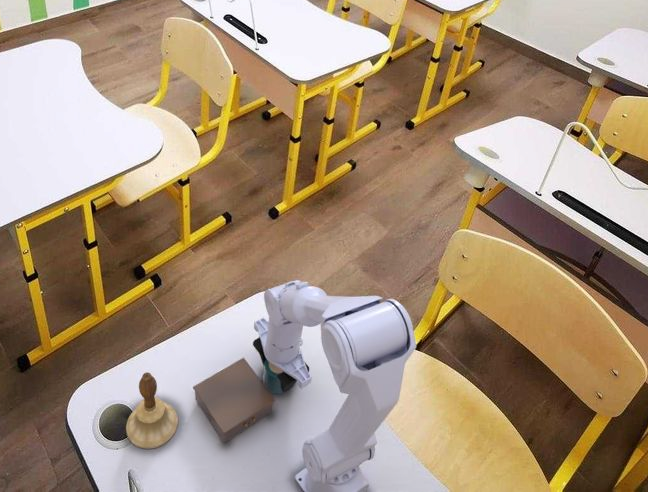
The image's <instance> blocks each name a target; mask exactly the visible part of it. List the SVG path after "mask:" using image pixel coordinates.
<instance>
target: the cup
mask: <svg viewBox="0 0 648 492" xmlns="http://www.w3.org/2000/svg"><path fill="white" fill-rule="evenodd" d="M282 372H284V371H282V370H281V369H279V368H277V367H276V366H274V365H273V364H271V363H270V362H269V361H268V360H267V359H266V360H265V364H264V366H263V373H262V383H263V384H264V386H265V387H266V388H267V390H268V391H269V392H270V393H273V394H283V393H284V392H283V391H282V389H281V381H280V380H279V379H278V377H277V375H279V374H280V373H282Z"/></svg>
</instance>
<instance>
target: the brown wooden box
mask: <svg viewBox="0 0 648 492" xmlns="http://www.w3.org/2000/svg"><path fill="white" fill-rule="evenodd" d="M192 389H193V390H194V399H195V401H196V403H197V404H198V406H199V407H200V408H201V410H202V412H203V413H204V415H205V416H206V418H207V419H208V421H209V423H210V424H211V425H212V427H213V428H214V430H215V431H216V433H217V435H218V436H219V438H220V439H221V441H222V442H223V444H225V443H226V442H228V441H230V440H231V439H233V438H234V437H236V436H237V435H239V434H240V433H242V432H243V431H245V430H246V429H247V428H250V427H251V426H252V425H254V424H255V423H257V422H259V421H260V420H261V419H263V418H265V417H266V416H267V415H269V414H271V413H272V412H273V408H274V403H275V402H276V398H274V396H273V395H272V394H271V392H270V391H268V390H267V388H266V387H265V386H264V384H263V380H261V378H260V377H259V376H258V375H257V373H256V372H255V370H254V369H253V368H252V367H251V365H250V364H249V363H248V361H247V360H246V358H245V357H242V358H240V359H239V360H236V361H235V362H233V363H232V364H230V365H229V366H226V367H224V368H223V369H222V370H220V371H218V372H215V374H212V375H211V376H209V377H207V378H205V379H204V380H202V381H200V382H199V383H197V384H196V385H194V386H193V387H192Z"/></svg>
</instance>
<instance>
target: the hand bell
mask: <svg viewBox="0 0 648 492" xmlns="http://www.w3.org/2000/svg"><path fill="white" fill-rule="evenodd" d="M157 389H158V384H157V380H156V378H155V377H154V376H153V375H152V373H150V372H148V371H147V372H144V373H143V374H142V376H141V378H140V380H139V382H138V391H139V394H140V395H141V397H142V398H143V400H141V401H140V402H139V403H138V404H137V406H136V408H134V410H133V411H132V412H131V413H130V415H129V416H128V418H127V421H126V425H125V433H126V436H127V438H128V440H129V442H131V443H132V444H133V445H134V446H136V447H138V448H140V449H145V450H146V449H147V450H150V449H155V448H159V447H161V446H163V445H165V444H166V443H168V442H169V441H170V440H171V439H172V438H173V437H174V435H175V434H176V433H177V430H178V426H179V417H178V413H177V411H176V409H175V408H174V407H173V406H172V405H170V404H169V403H167V402H165V401H163V400H162V399H160V398H158V397H155V395H156V393H157Z"/></svg>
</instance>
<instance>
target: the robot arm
mask: <svg viewBox="0 0 648 492" xmlns="http://www.w3.org/2000/svg"><path fill="white" fill-rule="evenodd" d="M383 299H384V298H383V297H381V296H379V295H362V296H361V295H360V296H343V295H341V296H340V295H327V293H326V292H325V290H323V289H322V288H320V287H318V286H313V285H309V282H308V281H301V280H300V279H295V280H291V281H288V282H285V283H283V284H280V285H277V286H273V287H270V288H267V289H266V290H265V291H264V293H263V301H264V305H265V309H266V313H267V315H268V320H267V319H266V318H265V317H264V316H263V317H261V318H259V319H257V320H255V321H254V322H253V329H254V331H255V332H257V333H258V337H257V338H256V339H254V340H253V342H252V346H253V347H254V349H255V351H256V352H257V353H258V354H259V358H260V360H261V364H262V365H263V367H264V364H265V360H266V359H267V360H268V361H269V362H270V363H271V364H273V365H274V366H276V367H277V368H279V369H281V370H282V371H284V372H282V373H280V374H279V375H277V377H278V379H279V380H280V381H281V389H282V391H283V393H286V392H288V391H289V390H291V389H293V387H294V386H295V384H296V383H297V382H298V384H297V385H298V388H300V389H301V390H302V389H303V388H305V387H307V386H308V385H310V384H311V382H312V378H313V376H311V374H310V366H309V364H307V362H306V361H305V359H304V356H303V352H302V350H301V346H303V345H304V340H303V339H302V335H303V328H304V327H309V328H311V327H317V326H319V325H320V340H321V347H322V348H323V353H324V354H325V357H326V359H327V362H328V365H329V367H330V370H331V373H332V377H333V379H334V382H335V384H336V386H337V387H338V390H339V392H340V393H341V394H345V395H347V397H346V398H345V400H344V402H343V403H342V405H341V407H340V409H339V410H338V412H337V414H336V416H335V418H334V419H333V421H332V422H331V424H330V426H329V428H328V429H326V430H325V431H323V432H322V433H320V434H319V435H317V436H316V437H314V438H312V439H311V440H306V441H304V442H303V445H302V448H301V455H302V459H303V463H304V466H305V467H304V468H302V470H301V471H299V472H297V473H296V474H295V476H294V479H295V481H296V482H297V484H298V485H299V487H300V488H301V489H302V491H303V492H367V491H368V489H369V487H370V484H369V482H368V481H367V479H366V478H365V476H364V474H363V472H362V470H361V467H360V466H361V465H362V464H363V463H365V462H367V461H371V460H373V459H374V457H375V453H376V452H375V451H376V446H377V444H378V441H377V437H376V434H375V433H376V432H377V430H378V429H379V428H380V426H381V425H382V424H383V423H384V421H385V420H386V419H387V417H388V416H389V415H390V413H391V412H392V411H393V409H394V408H395V407H396V405H397V404H398V402H399V400H400V396H401V390H402V386H403V385H402V384H403V378H404V373H405V366H406V363H407V361H408V360H409V358H410V357H411V356H412V354H413V353H414V352H415V350H416V349H417V342H416V336H415V331H414V326H413V321H412V319H411V316H410V314H409V313H408V311H407V309H406V308H405V307H404V306H403V304H401V303H400V302H399V301H398V300H397V299H394V298H387V299H385V300H383Z"/></svg>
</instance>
